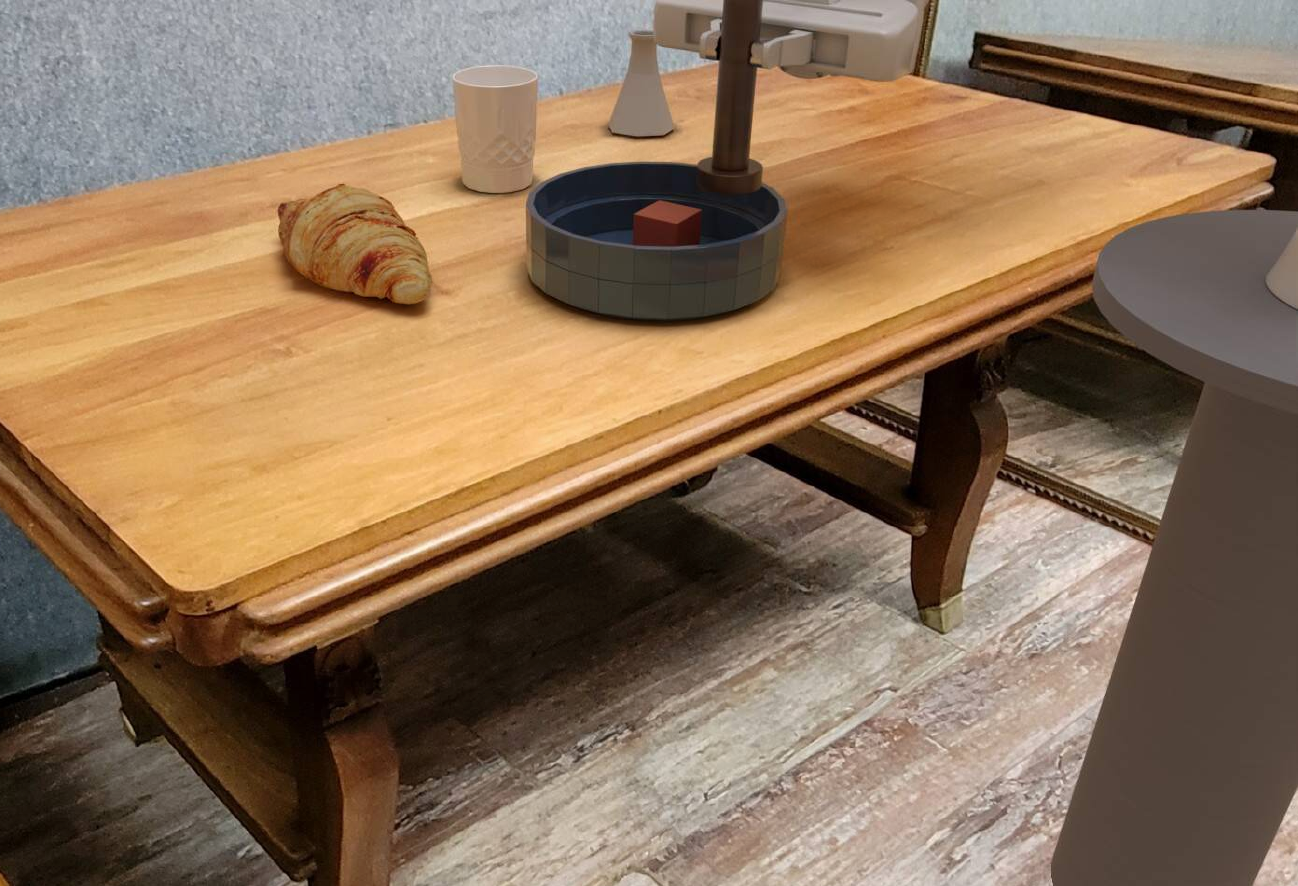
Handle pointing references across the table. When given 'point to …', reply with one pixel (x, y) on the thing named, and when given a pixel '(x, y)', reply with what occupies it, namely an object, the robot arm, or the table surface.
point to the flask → (642, 92)
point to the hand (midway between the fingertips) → (733, 52)
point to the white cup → (496, 126)
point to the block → (667, 225)
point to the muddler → (734, 105)
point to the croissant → (355, 245)
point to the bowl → (651, 277)
